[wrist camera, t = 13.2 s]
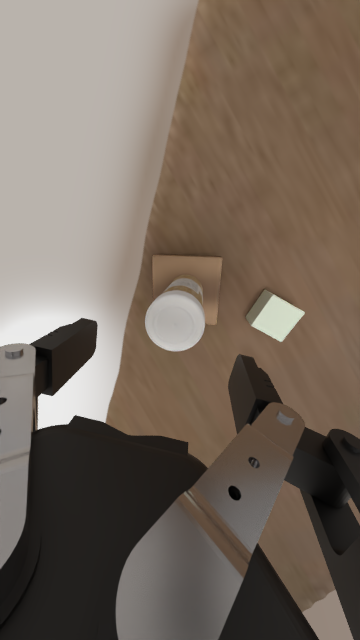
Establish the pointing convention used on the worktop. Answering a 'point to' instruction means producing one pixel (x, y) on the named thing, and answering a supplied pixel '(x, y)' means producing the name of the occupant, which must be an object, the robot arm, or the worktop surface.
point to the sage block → (273, 315)
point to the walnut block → (197, 266)
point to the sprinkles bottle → (177, 315)
